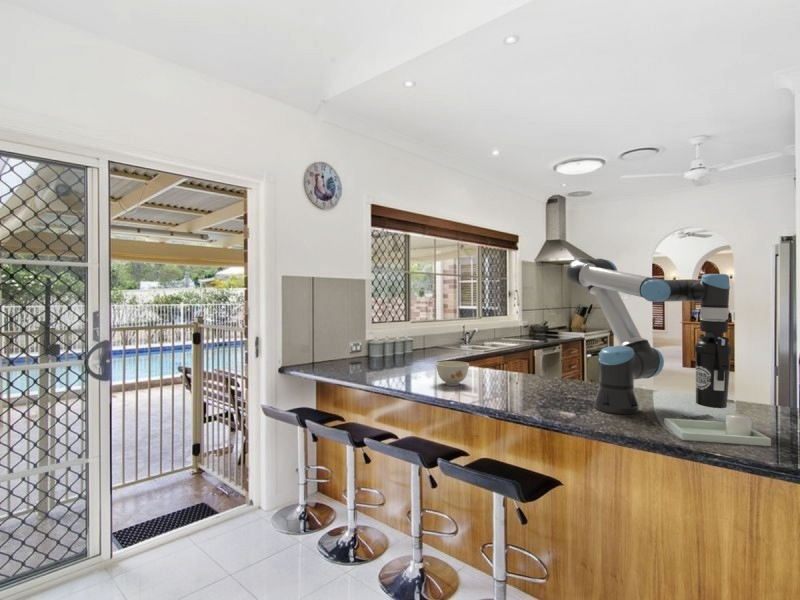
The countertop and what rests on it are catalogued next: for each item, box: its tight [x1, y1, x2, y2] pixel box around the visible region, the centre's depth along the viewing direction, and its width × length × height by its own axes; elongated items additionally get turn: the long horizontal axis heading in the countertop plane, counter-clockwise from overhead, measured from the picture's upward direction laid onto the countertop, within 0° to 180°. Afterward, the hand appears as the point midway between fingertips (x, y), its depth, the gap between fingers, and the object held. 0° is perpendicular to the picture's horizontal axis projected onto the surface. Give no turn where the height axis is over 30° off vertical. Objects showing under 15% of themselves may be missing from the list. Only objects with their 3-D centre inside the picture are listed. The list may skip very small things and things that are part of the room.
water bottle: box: [694, 335, 733, 409], centre depth 143 cm, size 10×10×23 cm
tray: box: [663, 417, 772, 447], centre depth 130 cm, size 22×15×3 cm
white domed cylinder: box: [725, 413, 752, 436], centre depth 128 cm, size 6×6×6 cm
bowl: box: [435, 360, 470, 387], centre depth 206 cm, size 16×16×10 cm
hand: (711, 386), depth 143 cm, fingers closed on water bottle, 9 cm apart
